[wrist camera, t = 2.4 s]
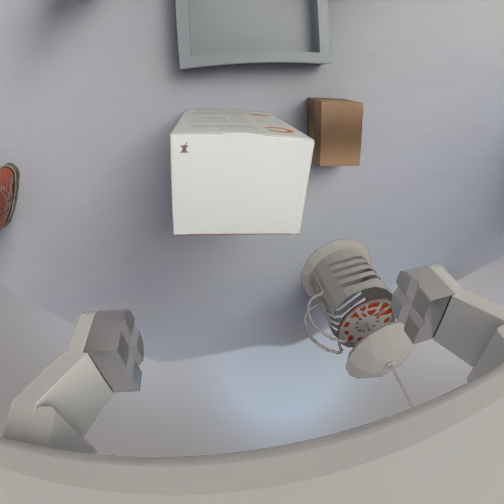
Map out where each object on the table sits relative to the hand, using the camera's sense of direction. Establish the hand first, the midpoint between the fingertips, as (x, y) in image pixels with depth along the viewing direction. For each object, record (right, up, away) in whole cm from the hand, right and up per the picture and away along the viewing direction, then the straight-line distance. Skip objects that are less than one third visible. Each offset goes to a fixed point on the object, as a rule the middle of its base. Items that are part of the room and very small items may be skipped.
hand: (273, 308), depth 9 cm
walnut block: (+7, +14, +20) cm, 25 cm away
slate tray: (-1, +24, +12) cm, 27 cm away
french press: (+9, -1, +30) cm, 31 cm away
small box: (-3, +12, +19) cm, 23 cm away
